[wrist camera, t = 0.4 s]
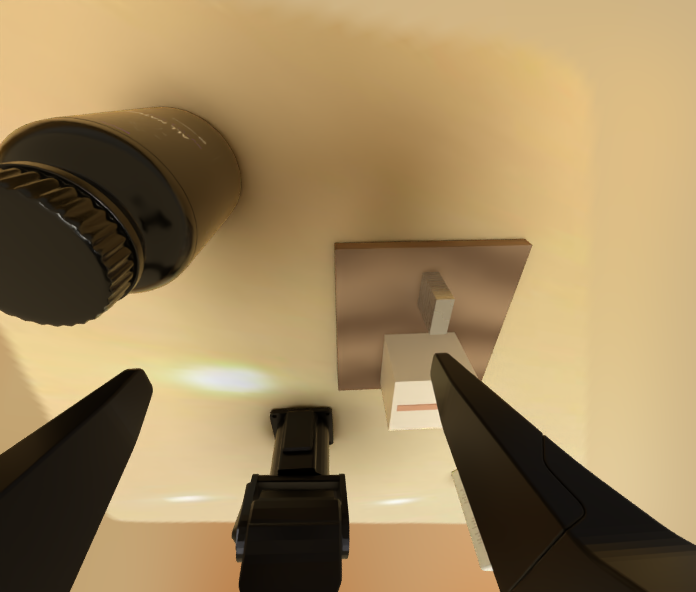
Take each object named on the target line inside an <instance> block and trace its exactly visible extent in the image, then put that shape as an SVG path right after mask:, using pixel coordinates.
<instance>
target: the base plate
mask: <svg viewBox="0 0 696 592" xmlns="http://www.w3.org/2000/svg"><path fill="white" fill-rule="evenodd" d="M531 248H532V244H530V243H529V242H528V241H527V240H525V239H512V240H465V241H418V242H371V243H335V273H336V313H337V353H338V390H362V389H381V383H380V379H381V368H382V357H383V347H384V336H385V335H390V334H419V333H428V330H427V328H426V325H425V323H424V320H423V318H422V315H421V313H420V310H419V308H418V305H417V304H418V298H419V292H420V286H421V280H422V273H423V272H439V273H440V275H441V276H442V278H443V280H444V282H445V283H446V285H447V287H448V288H449V290H450V292H451V293H452V295H453V297H454V298H455V301H454V305H453V309H452V313H451V317H450V321H449V326H448V330H447V333H448V332H455V334H456V336H457V338H458V340H459V342H460V344H461V346H462V348H463V350H464V352H465V354H466V356H467V358H468V360H469V361H470V363H471V365H472V367H473V369H474V371H475V373H476V375H477V377H478V379H479V380H480V381H482V378H483V376H484V373H485V370H486V368H487V365H488V362H489V360H490V357H491V354H492V352H493V349H494V346H495V344H496V341H497V338H498V336H499V333H500V330H501V328H502V325H503V322H504V320H505V317H506V314H507V312H508V309H509V306H510V304H511V301H512V298H513V296H514V293H515V290H516V288H517V285H518V282H519V280H520V277H521V274H522V272H523V269H524V266H525V264H526V261H527V258H528V256H529V253H530V250H531Z"/></svg>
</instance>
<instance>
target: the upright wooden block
mask: <svg viewBox="0 0 696 592" xmlns="http://www.w3.org/2000/svg"><path fill="white" fill-rule="evenodd" d="M454 301H455V298H454V297H453V295H452V293H451V292H450V290H449V288H448V287H447V285H446V283H445V282H444V280H443V278H442V276H441V275H440V273H439V272H423V273H422V280H421V286H420V292H419V298H418V304H417V305H418V308H419V310H420V313H421V315H422V318H423V320H424V323H425V325H426V328H427V330H428V333H429V335H439V334H447V330H448V326H449V321H450V317H451V313H452V309H453V305H454Z"/></svg>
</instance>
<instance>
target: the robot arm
mask: <svg viewBox="0 0 696 592" xmlns="http://www.w3.org/2000/svg"><path fill="white" fill-rule="evenodd" d="M430 377H431V382H432V386H433V390H434V395H435V399H436V403H437V408H438V412H439V416H440V420H441V424H442V427H443V430H444V433H445V436H446V439H447V442H448V445H449V447H450V450H451V453H452V456H453V459H454V462H455V464H456V467H457V470H458V473H459V476H460V479H461V481H462V484H463V487H464V490H465V493H466V496H467V498H468V501H469V504H470V507H471V510H472V513H473V515H474V518H475V521H476V524H477V527H478V530H479V532H480V535H481V538H482V541H483V544H484V547H485V550H486V552H487V555H488V558H489V561H490V564H491V567H492V569H493V572H494V575H495V578H496V580H497V583H498V586H499V589H500V592H696V545H694V544H692V543H691V542H689V541H687V540H685V539H683V538H682V537H680V536H678V535H676V534H675V533H674V532H672V531H670V530H669V529H667V528H666V527H664V526H663V525H662V524H660V523H659V522H657V521H656V520H655V519H653V518H652V517H651V516H649V515H648V514H647V513H645V512H644V511H643V510H641V509H640V508H638V507H637V506H636V505H634V504H633V503H632V502H630V501H629V500H628V499H626V498H625V497H624V496H622V495H621V494H619V493H618V492H617V491H615V490H614V489H612V488H611V487H610V486H609V485H607V484H606V483H605V482H603V481H602V480H600V479H599V478H598V477H596V476H595V475H594V474H593V473H591V472H590V471H589V470H587V469H586V468H585V467H583V466H582V465H581V464H579V463H578V462H577V461H576V460H574V459H573V458H572V457H571V456H570V455H568V454H567V453H566V452H565V451H563V450H562V449H561V448H560V447H558V446H557V445H556V444H555V443H554V442H553V441H551V440H550V439H549V438H548V437H547V436H545V435H543V434H542V432H541V431H539V430H538V429H537V428H536V427H535V426H534V425H532V424H531V423H530V422H529V421H528V420H526V419H525V418H524V417H523V416H522V415H521V414H519V413H518V412H517V411H516V410H515V409H513V408H512V407H511V406H510V405H509V404H508V403H506V402H505V401H504V400H503V399H502V398H501V397H499V396H498V395H497V394H496V393H495V392H493V391H492V390H491V389H490V388H489V387H488V386H486V385H485V384H484V383H483V382H482V381H480V380H479V379H478V378H477V377H476V376H475V375H473V374H472V373H471V372H470V371H469V370H468V369H466V368H465V367H464V366H463V365H462V364H460V363H459V362H458V361H457V360H456V359H455V358H453V357H452V356H451V355H450V354H448V353H435V354H434V356H433V360H432V365H431V370H430ZM152 393H153V387H152V384H151V383H150V381H149V379H148V377H147V375H146V373H145V372H144V370H142V369H140V368H136V369H126V370H124V371H123V372H121V373H120V374H118V375H117V376H115V377H114V378H113V379H111V380H110V381H108V382H107V383H105V384H104V385H102V386H101V387H99V388H98V389H96V390H95V391H93V392H92V393H90V394H89V395H88V396H86V397H85V398H83V399H82V400H80V401H79V402H77V403H76V404H74V405H73V406H71V407H70V408H68V409H67V410H65V411H64V412H63V413H61V414H60V415H58V416H57V417H55V418H54V419H52V420H51V421H49V422H48V423H46V424H45V425H43V426H42V427H40V428H39V429H38V430H36V431H35V432H33V433H32V434H30V435H29V436H27V437H26V438H24V439H23V440H21V441H20V442H18V443H17V444H16V445H14V446H13V447H11V448H10V449H8V450H7V451H5V452H4V453H2V454H1V455H0V592H70V590H71V588H72V585H73V584H74V581H75V579H76V577H77V575H78V572H79V570H80V568H81V565H82V563H83V561H84V559H85V556H86V554H87V552H88V550H89V548H90V545H91V543H92V541H93V539H94V536H95V534H96V532H97V530H98V527H99V525H100V523H101V521H102V518H103V516H104V514H105V512H106V509H107V507H108V505H109V503H110V500H111V498H112V496H113V494H114V492H115V489H116V487H117V485H118V483H119V480H120V478H121V476H122V474H123V471H124V469H125V467H126V465H127V462H128V460H129V458H130V456H131V453H132V451H133V449H134V446H135V444H136V441H137V439H138V436H139V433H140V430H141V427H142V424H143V421H144V418H145V415H146V412H147V409H148V406H149V403H150V400H151V397H152ZM270 420H271V424H272V428H273V432H274V436H275V445H274V452H273V458H272V465H271V472H270V475H259V474H253V475H252V479H251V482H250V483H248V484H247V485H246V490H245V495H244V499H243V503H242V506H241V509H240V512H239V515H238V517H237V520H236V523H235V526H234V528H233V531H232V539H233V540H234V542H235V543H236V561H237V562H242V564H241V571H240V577H239V590H240V592H338V590H339V587H340V585H341V581H342V559H347V558H348V555H349V513H348V503H347V492H346V481H345V474H339V475H329V445H331V444H333V423H332V409H330V408H312V409H289V410H273V411H271V412H270Z"/></svg>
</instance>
